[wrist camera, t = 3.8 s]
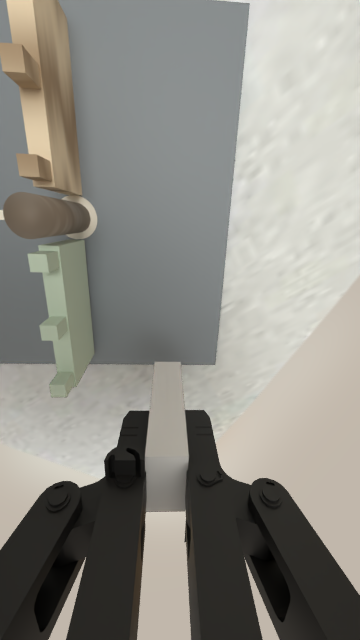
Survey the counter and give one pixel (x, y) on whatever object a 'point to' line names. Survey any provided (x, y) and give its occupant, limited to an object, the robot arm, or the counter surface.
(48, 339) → the folding panel
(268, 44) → the counter surface
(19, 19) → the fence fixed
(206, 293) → the board
